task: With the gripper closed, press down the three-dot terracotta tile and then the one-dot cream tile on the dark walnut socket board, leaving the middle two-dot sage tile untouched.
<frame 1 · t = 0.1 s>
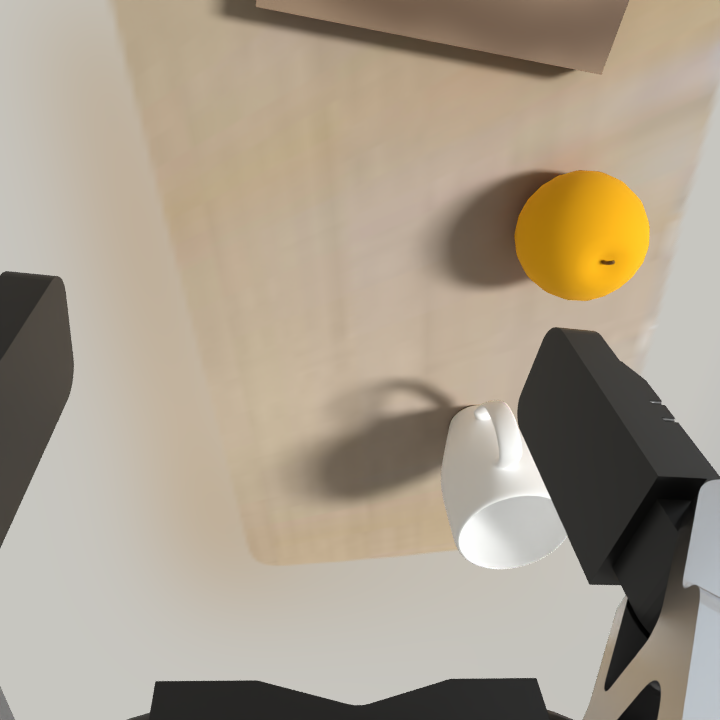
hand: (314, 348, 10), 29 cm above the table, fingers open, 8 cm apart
orange: (559, 214, 42), on the table
mug: (473, 406, 51), on the table
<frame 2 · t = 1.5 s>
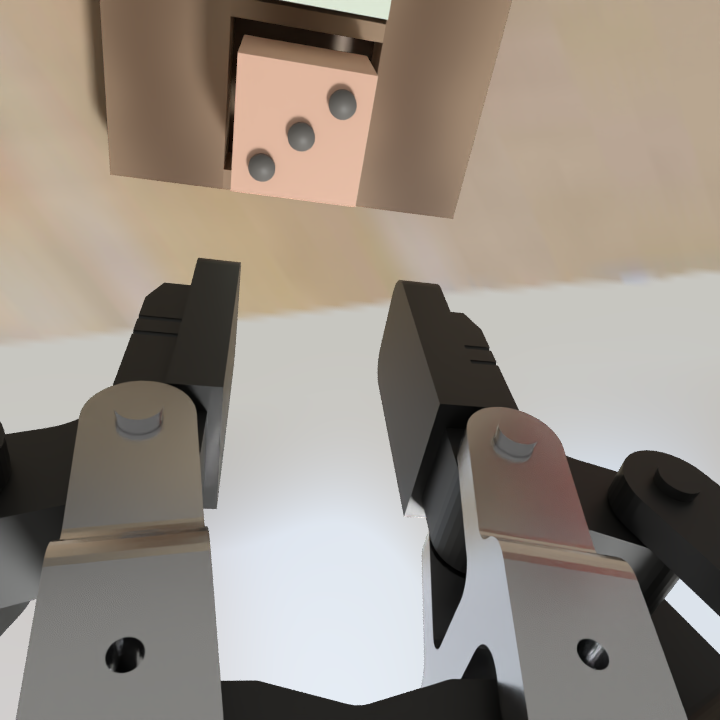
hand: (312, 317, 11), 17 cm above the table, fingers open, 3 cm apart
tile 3: (300, 122, 22), point 4 cm above the table, slide at 0.0 cm
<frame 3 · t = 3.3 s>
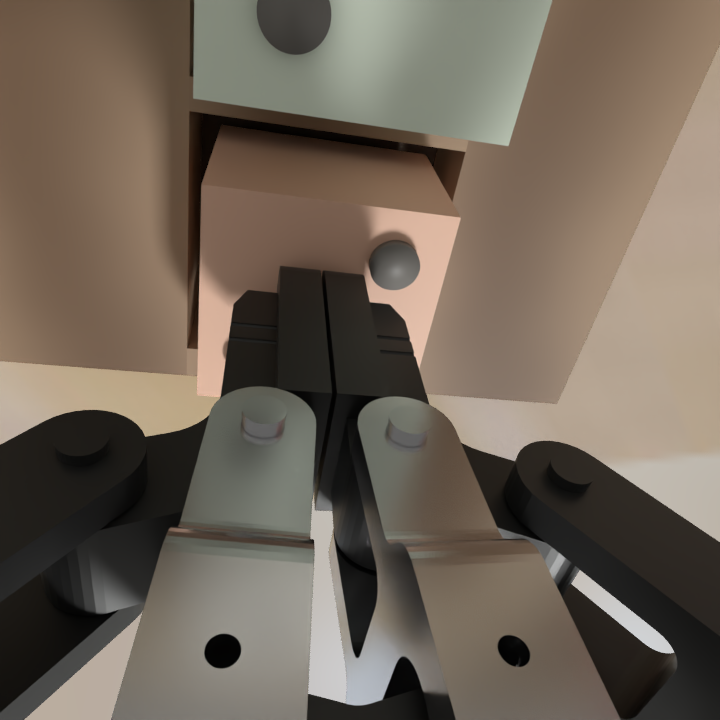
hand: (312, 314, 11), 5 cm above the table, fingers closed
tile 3: (316, 272, 13), point 3 cm above the table, slide at 1.2 cm, touching gripper
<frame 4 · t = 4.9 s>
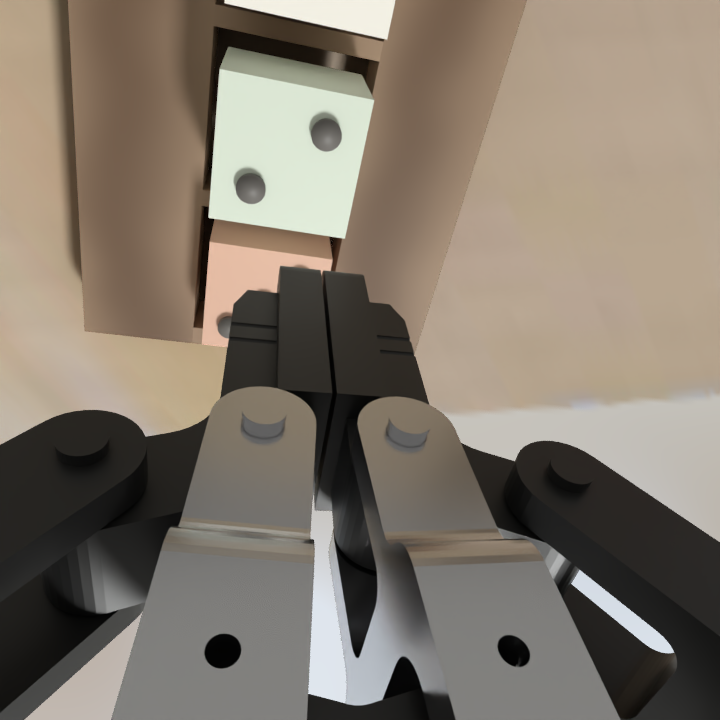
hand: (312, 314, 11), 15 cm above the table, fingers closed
socket board: (286, 112, 23), on the table
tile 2: (287, 144, 20), point 4 cm above the table, slide at 0.0 cm
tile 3: (265, 282, 25), point 2 cm above the table, slide at 1.6 cm
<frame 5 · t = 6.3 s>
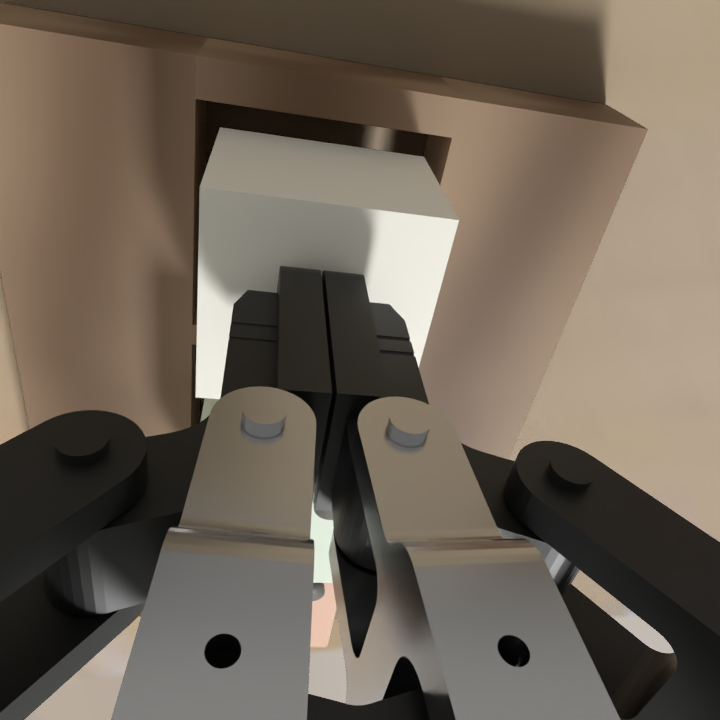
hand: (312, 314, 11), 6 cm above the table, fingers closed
socket board: (287, 382, 20), on the table
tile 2: (286, 476, 16), point 4 cm above the table, slide at 0.0 cm
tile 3: (269, 565, 21), point 2 cm above the table, slide at 1.6 cm
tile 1: (314, 274, 13), point 4 cm above the table, slide at 0.1 cm, touching gripper
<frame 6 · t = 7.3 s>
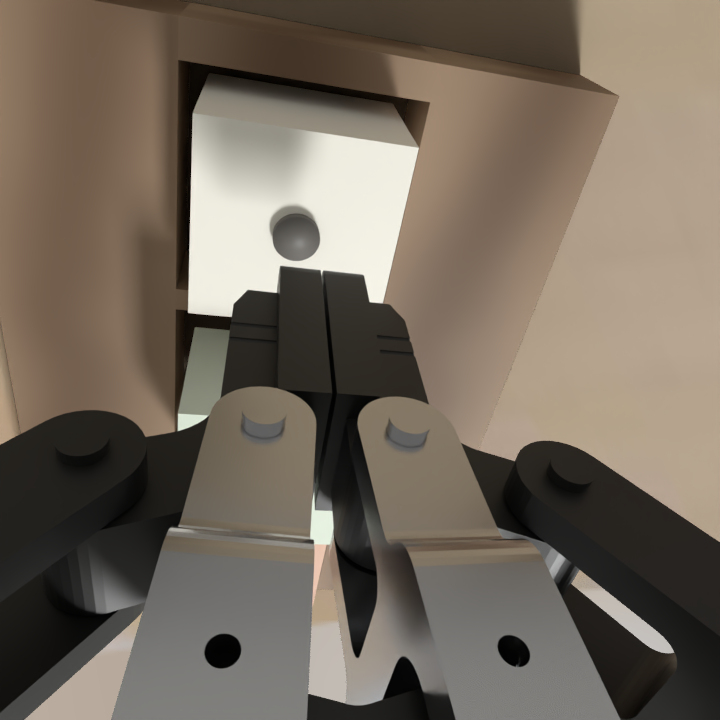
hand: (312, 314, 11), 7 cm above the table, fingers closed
socket board: (270, 353, 20), on the table
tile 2: (269, 440, 17), point 4 cm above the table, slide at 0.0 cm
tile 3: (253, 534, 21), point 2 cm above the table, slide at 1.6 cm
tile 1: (294, 205, 14), point 2 cm above the table, slide at 1.6 cm
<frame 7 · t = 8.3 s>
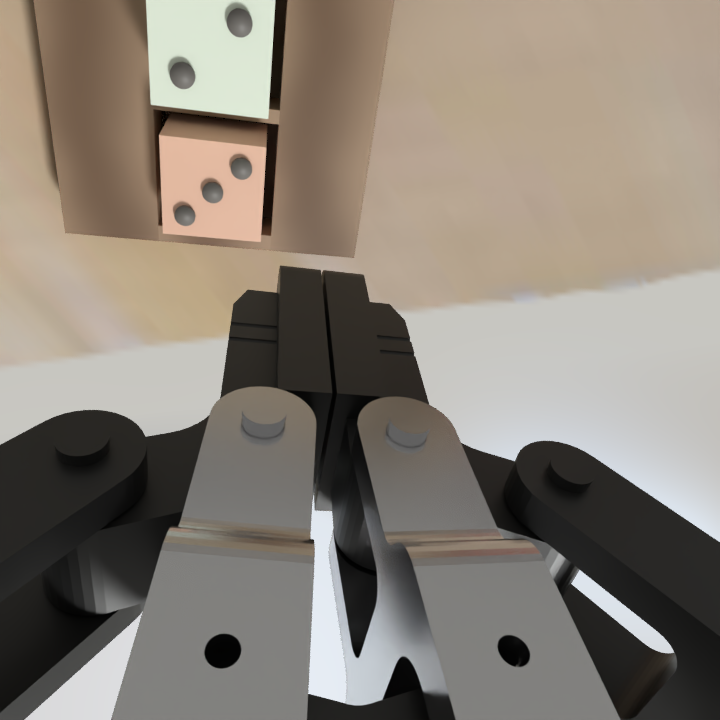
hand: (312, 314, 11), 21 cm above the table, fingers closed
socket board: (222, 25, 27), on the table
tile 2: (214, 41, 24), point 4 cm above the table, slide at 0.0 cm
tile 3: (215, 178, 28), point 2 cm above the table, slide at 1.6 cm
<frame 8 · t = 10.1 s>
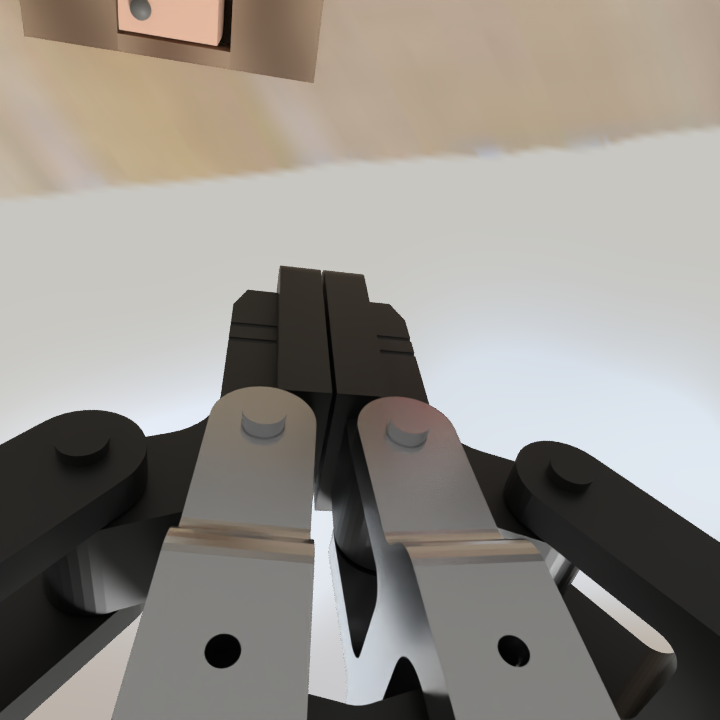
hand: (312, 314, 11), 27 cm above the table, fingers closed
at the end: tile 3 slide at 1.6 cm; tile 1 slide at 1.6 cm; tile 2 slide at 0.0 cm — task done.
